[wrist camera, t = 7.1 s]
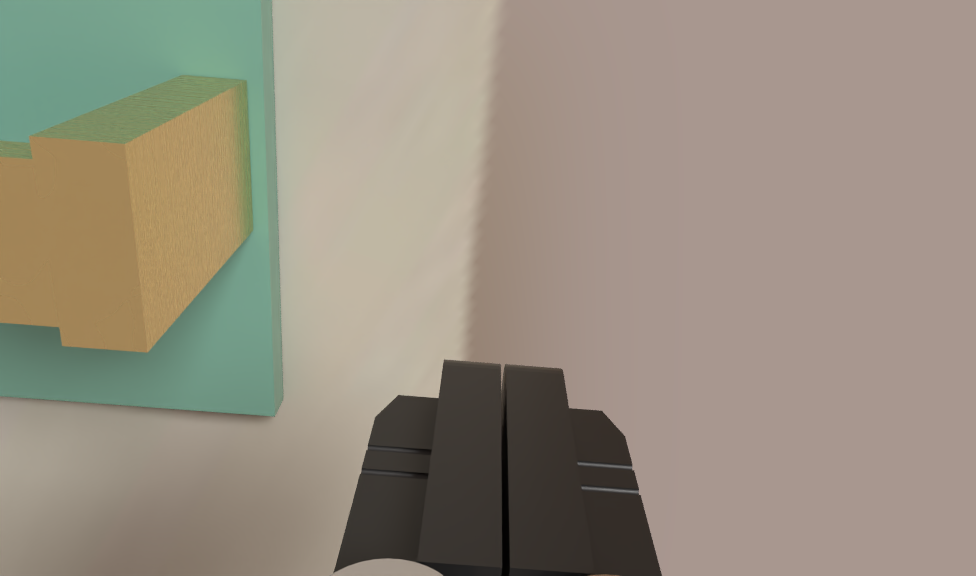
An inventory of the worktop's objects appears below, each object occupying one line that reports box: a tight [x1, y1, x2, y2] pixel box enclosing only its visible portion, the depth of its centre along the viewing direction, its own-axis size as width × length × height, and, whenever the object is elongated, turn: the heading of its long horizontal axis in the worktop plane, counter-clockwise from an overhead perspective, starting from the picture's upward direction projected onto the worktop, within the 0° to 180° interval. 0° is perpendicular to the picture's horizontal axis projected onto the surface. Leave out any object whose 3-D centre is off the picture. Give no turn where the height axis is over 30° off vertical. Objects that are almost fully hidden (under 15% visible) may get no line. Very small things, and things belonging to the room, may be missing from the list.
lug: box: [0, 75, 253, 353], centre depth 17 cm, size 4×5×7 cm
